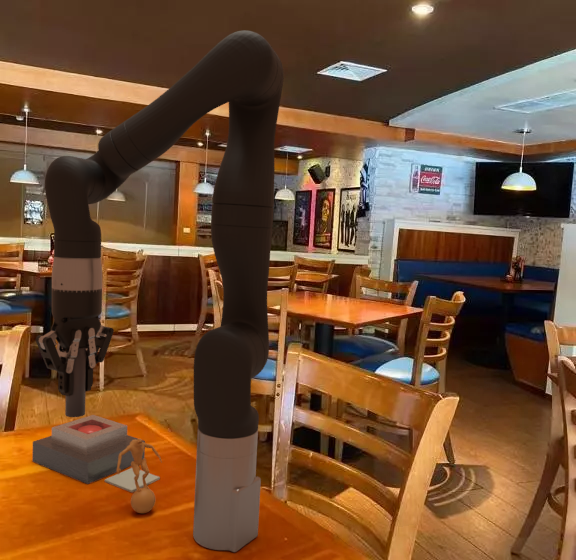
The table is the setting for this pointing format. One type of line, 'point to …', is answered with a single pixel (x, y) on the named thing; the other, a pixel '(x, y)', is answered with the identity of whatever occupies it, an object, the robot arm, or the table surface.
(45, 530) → the table surface
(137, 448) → the figurine
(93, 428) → the button
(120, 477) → the pad
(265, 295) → the robot arm
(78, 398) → the dark grey cylinder
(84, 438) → the box
